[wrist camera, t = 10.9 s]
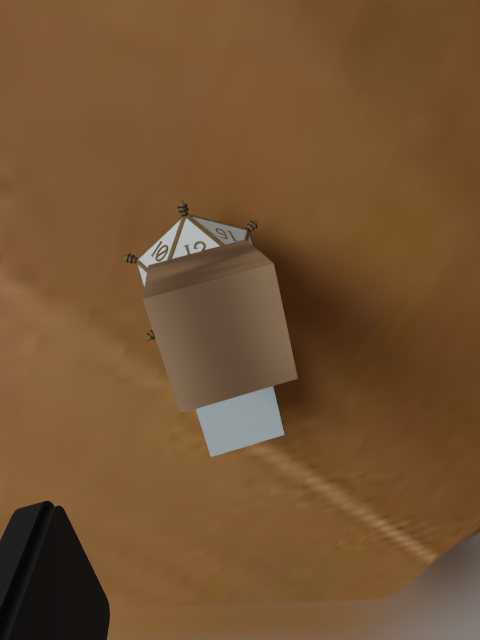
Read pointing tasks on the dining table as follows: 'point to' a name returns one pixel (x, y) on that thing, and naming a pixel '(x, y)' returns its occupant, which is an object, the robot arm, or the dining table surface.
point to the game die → (188, 241)
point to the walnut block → (219, 324)
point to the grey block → (240, 421)
